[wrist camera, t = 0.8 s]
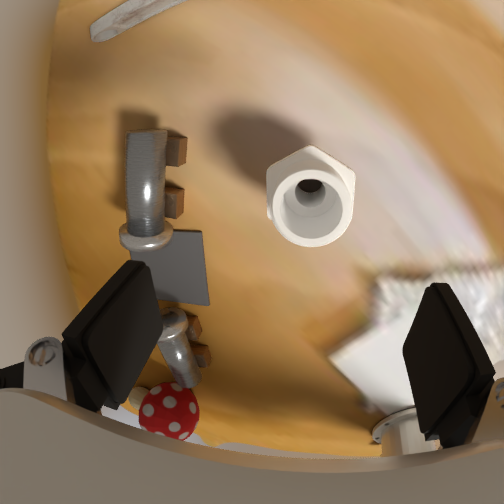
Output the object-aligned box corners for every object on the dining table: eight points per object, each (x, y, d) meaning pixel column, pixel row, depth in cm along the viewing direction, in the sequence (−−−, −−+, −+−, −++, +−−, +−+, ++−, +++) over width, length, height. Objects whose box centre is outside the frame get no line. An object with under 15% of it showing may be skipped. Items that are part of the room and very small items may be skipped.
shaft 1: (183, 229, 29) (158, 256, 24) (139, 221, 29) (109, 245, 24) (189, 129, 24) (159, 136, 19) (140, 127, 25) (103, 134, 20)
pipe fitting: (347, 141, 22) (365, 155, 15) (342, 220, 26) (355, 263, 19) (272, 139, 24) (258, 151, 17) (273, 217, 27) (261, 258, 20)
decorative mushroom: (113, 427, 40) (163, 465, 31) (103, 371, 41) (151, 400, 32) (161, 412, 49) (216, 439, 40) (155, 361, 50) (211, 380, 41)
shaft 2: (213, 361, 38) (201, 395, 32) (179, 359, 39) (165, 390, 34) (194, 303, 33) (175, 337, 28) (156, 303, 34) (135, 334, 29)
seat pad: (209, 304, 33) (208, 306, 33) (141, 295, 34) (140, 296, 34) (201, 231, 29) (200, 232, 28) (126, 228, 30) (125, 229, 30)
